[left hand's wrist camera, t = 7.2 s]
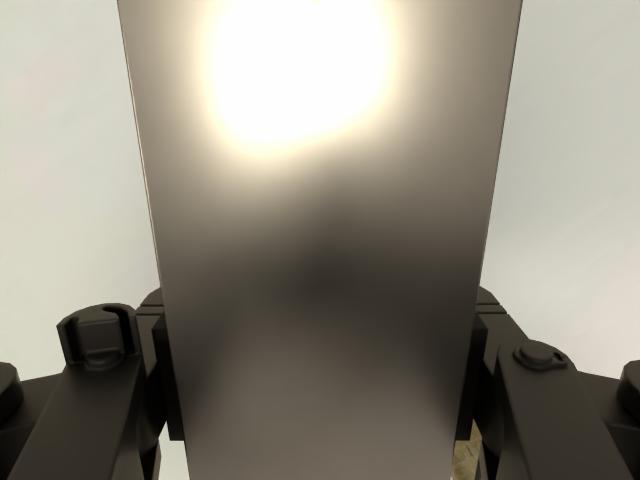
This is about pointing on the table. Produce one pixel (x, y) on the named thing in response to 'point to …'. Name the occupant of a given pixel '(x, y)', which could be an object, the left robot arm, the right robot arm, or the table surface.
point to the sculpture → (466, 456)
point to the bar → (319, 222)
